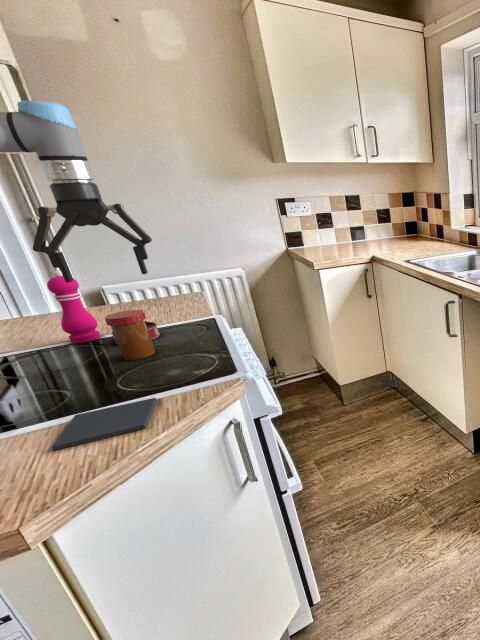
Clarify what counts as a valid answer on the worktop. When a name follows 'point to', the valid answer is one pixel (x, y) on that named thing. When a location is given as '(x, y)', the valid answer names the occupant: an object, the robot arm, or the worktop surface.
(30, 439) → the worktop surface
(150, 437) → the worktop surface
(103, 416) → the mat
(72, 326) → the pepper mill
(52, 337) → the worktop surface
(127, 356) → the jar
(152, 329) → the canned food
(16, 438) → the worktop surface
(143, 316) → the lid
